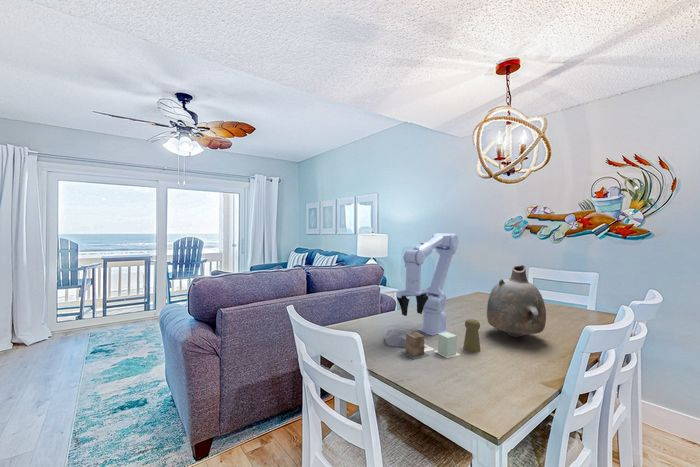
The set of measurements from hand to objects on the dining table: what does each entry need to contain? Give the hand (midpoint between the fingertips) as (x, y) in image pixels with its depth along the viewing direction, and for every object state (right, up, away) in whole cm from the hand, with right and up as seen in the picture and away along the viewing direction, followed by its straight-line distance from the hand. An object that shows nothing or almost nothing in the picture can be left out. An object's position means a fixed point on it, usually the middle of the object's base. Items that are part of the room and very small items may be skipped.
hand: (412, 314), depth 121 cm
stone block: (-6, -11, -1) cm, 12 cm away
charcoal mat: (-2, -11, -13) cm, 17 cm away
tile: (+10, -11, -12) cm, 19 cm away
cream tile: (+2, -11, -8) cm, 13 cm away
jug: (+44, -11, +6) cm, 46 cm away
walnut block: (-2, -10, -13) cm, 17 cm away
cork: (+20, -11, -8) cm, 25 cm away
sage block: (+10, -11, -12) cm, 19 cm away
